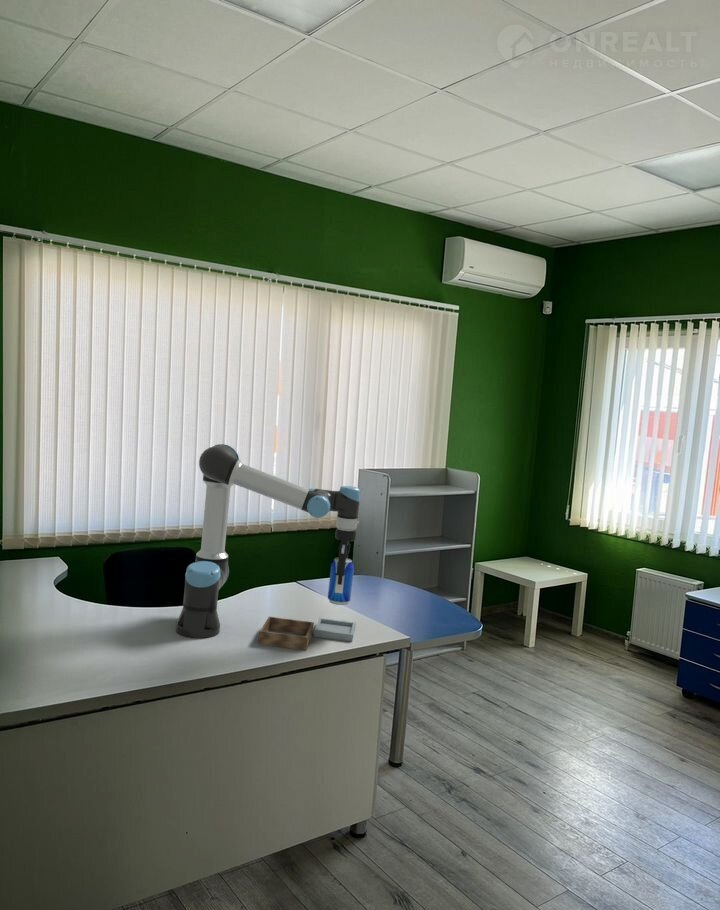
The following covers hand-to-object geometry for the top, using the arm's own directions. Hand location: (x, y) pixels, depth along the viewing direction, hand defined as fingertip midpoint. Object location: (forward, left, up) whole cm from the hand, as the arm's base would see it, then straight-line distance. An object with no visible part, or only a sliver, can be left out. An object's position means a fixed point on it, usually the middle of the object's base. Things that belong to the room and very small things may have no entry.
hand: (340, 589), depth 264 cm
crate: (-16, -13, -17) cm, 26 cm away
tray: (0, 0, -17) cm, 17 cm away
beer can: (0, 0, -5) cm, 5 cm away
